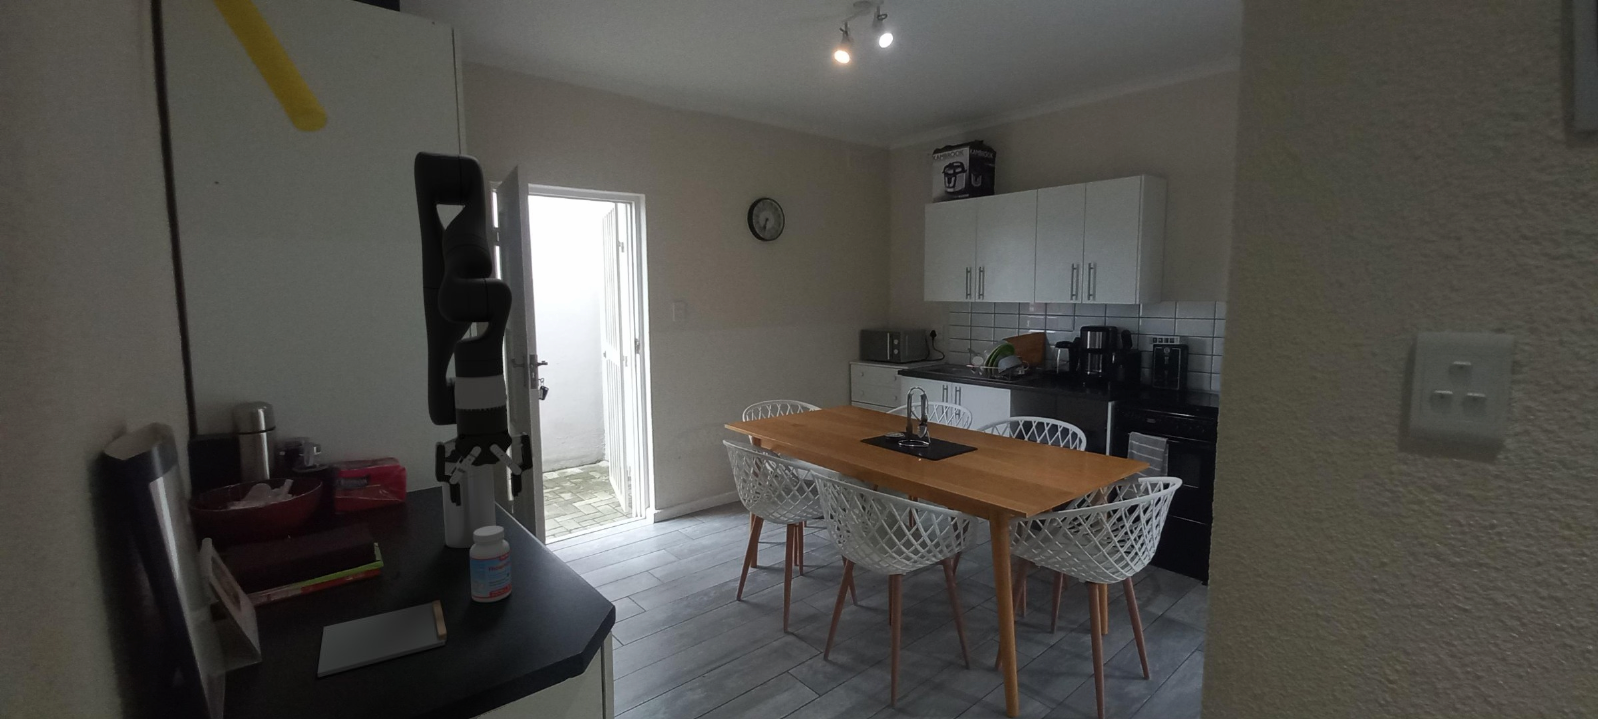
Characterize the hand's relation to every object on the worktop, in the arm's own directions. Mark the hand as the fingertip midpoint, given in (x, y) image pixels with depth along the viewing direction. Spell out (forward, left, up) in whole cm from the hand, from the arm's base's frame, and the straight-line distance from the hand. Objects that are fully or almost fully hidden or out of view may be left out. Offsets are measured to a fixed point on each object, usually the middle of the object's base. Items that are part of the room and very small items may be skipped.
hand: (486, 500), depth 110 cm
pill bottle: (0, 0, -17) cm, 17 cm away
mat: (+6, -15, -16) cm, 23 cm away
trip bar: (+6, -8, -16) cm, 19 cm away
